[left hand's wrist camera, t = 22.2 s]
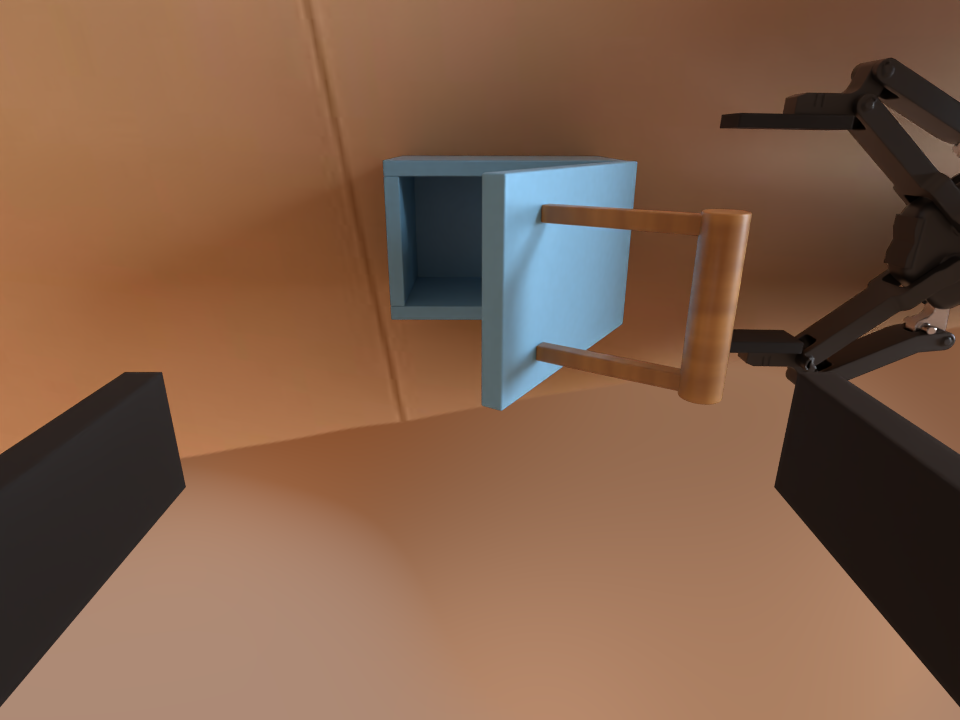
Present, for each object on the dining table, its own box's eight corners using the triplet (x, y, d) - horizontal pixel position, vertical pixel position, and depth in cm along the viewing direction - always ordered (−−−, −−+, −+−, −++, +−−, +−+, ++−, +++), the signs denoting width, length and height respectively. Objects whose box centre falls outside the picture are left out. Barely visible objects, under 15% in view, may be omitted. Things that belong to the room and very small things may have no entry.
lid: (480, 406, 24) (696, 465, 20) (481, 172, 21) (739, 182, 17) (606, 321, 35) (762, 347, 31) (619, 160, 32) (796, 164, 28)
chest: (408, 285, 44) (391, 319, 36) (402, 155, 41) (382, 160, 32) (588, 285, 44) (613, 320, 36) (596, 155, 41) (626, 160, 32)
